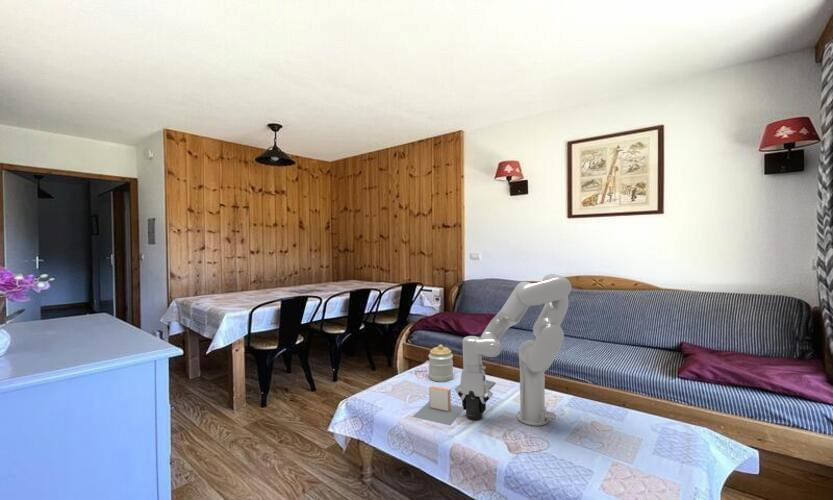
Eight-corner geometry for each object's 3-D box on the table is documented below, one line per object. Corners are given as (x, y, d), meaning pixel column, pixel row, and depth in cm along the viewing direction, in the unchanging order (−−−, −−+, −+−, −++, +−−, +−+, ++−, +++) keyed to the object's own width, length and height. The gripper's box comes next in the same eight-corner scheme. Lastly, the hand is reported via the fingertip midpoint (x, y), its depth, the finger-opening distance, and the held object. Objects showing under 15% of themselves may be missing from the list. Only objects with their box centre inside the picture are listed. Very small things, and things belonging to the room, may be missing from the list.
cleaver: (472, 405, 168) (472, 400, 168) (452, 400, 173) (452, 395, 173) (496, 384, 193) (496, 380, 193) (479, 380, 198) (479, 376, 198)
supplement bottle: (471, 412, 160) (470, 384, 160) (485, 416, 156) (484, 387, 156) (462, 418, 155) (461, 389, 155) (477, 423, 151) (476, 393, 150)
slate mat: (465, 409, 164) (465, 407, 164) (450, 426, 149) (450, 425, 149) (429, 401, 172) (429, 400, 172) (412, 418, 157) (412, 416, 157)
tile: (450, 409, 162) (450, 389, 162) (448, 411, 160) (448, 390, 160) (431, 405, 166) (431, 385, 166) (429, 407, 164) (429, 387, 164)
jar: (453, 373, 207) (453, 341, 206) (452, 382, 194) (452, 348, 193) (430, 372, 209) (429, 341, 208) (427, 381, 196) (427, 347, 195)
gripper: (496, 366, 154) (497, 410, 155) (456, 361, 162) (457, 403, 163) (490, 373, 148) (492, 418, 148) (449, 367, 156) (450, 410, 156)
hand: (474, 409), depth 155 cm, fingers closed on supplement bottle, 6 cm apart
